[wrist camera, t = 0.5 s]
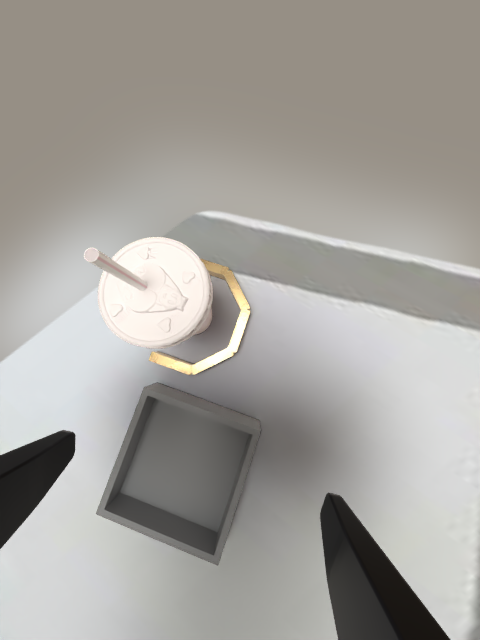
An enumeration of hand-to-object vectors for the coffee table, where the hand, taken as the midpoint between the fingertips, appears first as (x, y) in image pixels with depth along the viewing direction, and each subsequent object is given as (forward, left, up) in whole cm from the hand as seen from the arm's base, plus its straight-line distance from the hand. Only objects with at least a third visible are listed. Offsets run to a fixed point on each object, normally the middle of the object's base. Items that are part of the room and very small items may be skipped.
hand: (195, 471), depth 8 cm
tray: (-6, +2, -13) cm, 15 cm away
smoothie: (+6, +6, -14) cm, 16 cm away
